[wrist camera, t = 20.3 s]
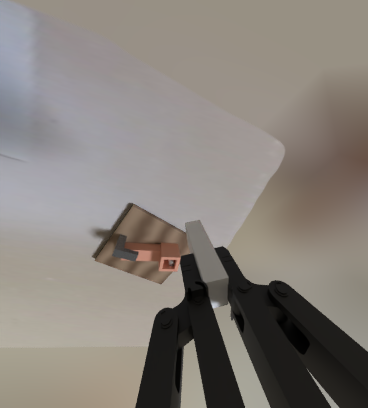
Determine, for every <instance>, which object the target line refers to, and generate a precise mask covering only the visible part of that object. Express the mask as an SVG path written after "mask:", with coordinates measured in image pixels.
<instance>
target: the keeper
mask: <svg viewBox="0 0 368 408" xmlns="http://www.w3.org/2000/svg"><path fill="white" fill-rule="evenodd" d="M126 238H127V236H125V235H122V234H120V236H119V238H118V240H117V243H116V246H115V248H114V251H113V254H112V256H114V257H118V258H122V259H126V260H130V261H136V259H137V257H138V254H139V252H138V251H134V250H130V249H126V248H124V246H125V242H126Z"/></svg>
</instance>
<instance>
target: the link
mask: <svg viewBox="0 0 368 408" xmlns="http://www.w3.org/2000/svg"><path fill="white" fill-rule="evenodd" d="M124 248H126V249H130V250H134V251H138V252H139V254H138V257H137V259H136V261H159V271H176V272H177V270H178V266H179V262H180V258H181V257H180V252H179V247H178V244H175V243H161V244H145V243H127V242H125V246H124ZM121 260H126V259H122V258H121ZM168 260H174V261H175V265H174V266H169V261H168ZM128 261H130V260H128Z"/></svg>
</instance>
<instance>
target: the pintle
mask: <svg viewBox="0 0 368 408" xmlns="http://www.w3.org/2000/svg"><path fill="white" fill-rule="evenodd" d="M168 261H169V266H174V265H175V261H174V260H168Z"/></svg>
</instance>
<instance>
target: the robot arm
mask: <svg viewBox="0 0 368 408" xmlns="http://www.w3.org/2000/svg"><path fill="white" fill-rule="evenodd" d="M185 227H186V234H187V241H188V246H189V250H190V254H187V255H182V256H181V259H180V265H181V271H182V276H183V282H184V287H185V297H184V299H183V301H182V302H181V303H180V304H179V305H177V306H176V307H174V308H173V309H172V308H164V309H162V310H160V311H159V312H158V314H157V315H156V317H155V320H154V324H153V328H152V333H151V338H150V342H149V347H148V352H147V356H146V361H145V366H144V371H143V375H142V380H141V384H140V389H139V394H138V398H137V403H136V407H135V408H180V404H181V387H182V369H183V349H184V346H185V345H186V344H187V343H189V341H191V340H192V339H194V341H195V347H196V352H197V357H198V363H199V368H200V374H201V379H202V384H203V389H204V395H205V400H206V405H207V408H245V406H244V403H243V400H242V397H241V394H240V391H239V387H238V384H237V381H236V378H235V375H234V372H233V369H232V366H231V363H230V360H229V357H228V354H227V351H226V347H225V345H224V341H223V338H222V335H221V332H220V329H219V326H218V323H217V320H216V317H215V314H214V311H213V308H216V307H220V306H224V305H227V304H228V301H229V303H230V306H231V320H233V318H234V320H235V323H236V325H237V328H238V330H239V332H240V335H241V337H242V340H243V342H244V344H245V347H246V349H247V352H248V354H249V357H250V359H251V361H252V363H253V366H254V369H255V371H256V373H257V376H258V378H259V381H260V383H261V385H262V388H263V390H264V392H265V395H266V397H267V400H268V402H269V405H270V407H271V408H331V406H330V405H329V403H328V402H327V400H326V398H325V397H324V395H323V394H322V392H321V391H320V389H319V387H318V386H317V384H316V383H315V381H314V380H313V378H312V376H311V375H310V373H311V374H312V375H313V376H314V378H315V379H316V380H317V381H318V382H319V384H320V385H321V386H322V387H323V388H324V390H325V391H326V392H327V393H328V394H329V396H330V397H331V398H332V399H333V400H334V402H335V403H336V404H337V405H338V406H339V408H368V352H367V351H366V350H365V349H364V348H363V347H361V346H360V345H359V344H358V343H357V342H355V341H354V340H353V339H352V338H351V337H350V336H348V335H347V334H346V333H345V332H344V331H342V330H341V329H340V328H339V327H338V326H337V325H335V324H334V323H333V322H332V321H331V320H329V319H328V318H327V317H326V316H325V315H323V314H322V313H321V312H320V311H319V310H318V309H316V308H315V307H314V306H313V305H311V304H310V303H309V302H308V301H307V300H306V299H304V298H303V297H302V296H301V295H300V294H299V293H297V292H296V291H295V290H294V289H292V288H291V287H290V286H289V285H287V284H286V283H284V282H282V281H276V280H275V281H271V283H269V285H257V284H254V283H251V282H250V281H249V280H247V279H246V278H245V277H244V276H243V274H242V272H241V271H240V269H239V267H238V266H237V264H236V262H235V261H234V259H233V258H232V256H231V255H230V253H229V251H228V250H227V249H226V248H224V247H223V246H222V247H218V248H214V247H213V245H212V243H211V241H210V239H209V237H208V235H207V233H206V231H205V229H204V227H203V225H202V223H201V221H200V220H198V221H192V222H187V223H185ZM306 368H307V369H308V370H309V372H310V373H309V372H308V370H307V369H306Z"/></svg>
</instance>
